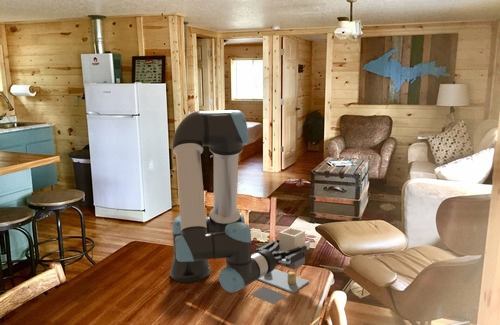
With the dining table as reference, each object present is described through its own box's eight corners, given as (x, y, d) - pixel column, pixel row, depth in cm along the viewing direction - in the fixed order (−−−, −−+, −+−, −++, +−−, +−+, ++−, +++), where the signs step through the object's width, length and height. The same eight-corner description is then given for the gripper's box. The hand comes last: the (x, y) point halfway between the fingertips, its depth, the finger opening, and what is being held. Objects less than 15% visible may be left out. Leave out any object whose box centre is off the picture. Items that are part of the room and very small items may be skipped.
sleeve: (279, 264, 146) (279, 232, 143) (289, 258, 151) (289, 227, 148) (294, 269, 142) (294, 236, 139) (304, 263, 146) (305, 231, 144)
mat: (250, 295, 142) (250, 294, 142) (263, 287, 147) (263, 286, 147) (273, 305, 136) (273, 304, 135) (286, 297, 141) (286, 295, 141)
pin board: (252, 279, 153) (252, 267, 153) (269, 269, 161) (269, 258, 160) (293, 295, 142) (293, 282, 141) (308, 283, 149) (309, 271, 148)
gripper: (237, 266, 138) (278, 245, 156) (284, 284, 126) (323, 258, 143) (236, 245, 137) (278, 226, 154) (284, 260, 125) (324, 238, 142)
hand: (300, 242), depth 149 cm, fingers closed on sleeve, 6 cm apart
